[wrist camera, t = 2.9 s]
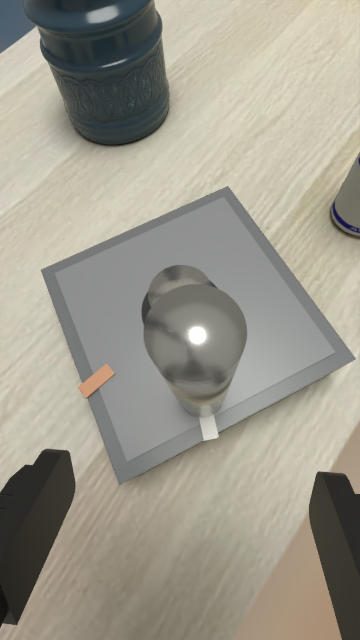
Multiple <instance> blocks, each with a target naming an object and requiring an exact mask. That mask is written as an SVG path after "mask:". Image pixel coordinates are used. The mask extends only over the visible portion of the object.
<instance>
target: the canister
mask: <svg viewBox="0 0 360 640" xmlns="http://www.w3.org/2000/svg"><path fill="white" fill-rule="evenodd" d="M23 7H24V11H25V13H26V15H27V17H28V18H29V19H30V20H31V22H33V23H34V24H35V25H36V26H37V28H38V30H39V33H40V36H41V38H40V48H41V52H42V54H43V56H44V58H45V59H46V60H47V61H48V64H49V66H50V69H51V71H52V73H53V76H54V78H55V81H56V83H57V85H58V88H59V90H60V93H61V95H62V98H63V100H64V105H65V109H66V111H67V113H68V116H69V118H70V120H71V121H72V123H73V124H74V125H75V127H76V129H77V130H78V132H79V133H80V134H81V135H83V136H84V137H85V138H87V139H89V140H91V141H94V142H97V143H101V144H111V145H115V144H124V143H129V142H133V141H136V140H138V139H141V138H143V137H145V136H147V135H148V134H150V133H151V132H153V131H154V130H155V129H156V128H157V127H158V126H159V125H160V124H161V123H162V122H163V120H164V119H165V117H166V115H167V112H168V102H169V84H168V80H167V77H166V71H165V61H164V52H163V43H162V20H161V17H160V15H159V13H158V12H157V10H156V8H155V3H154V0H23Z"/></svg>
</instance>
